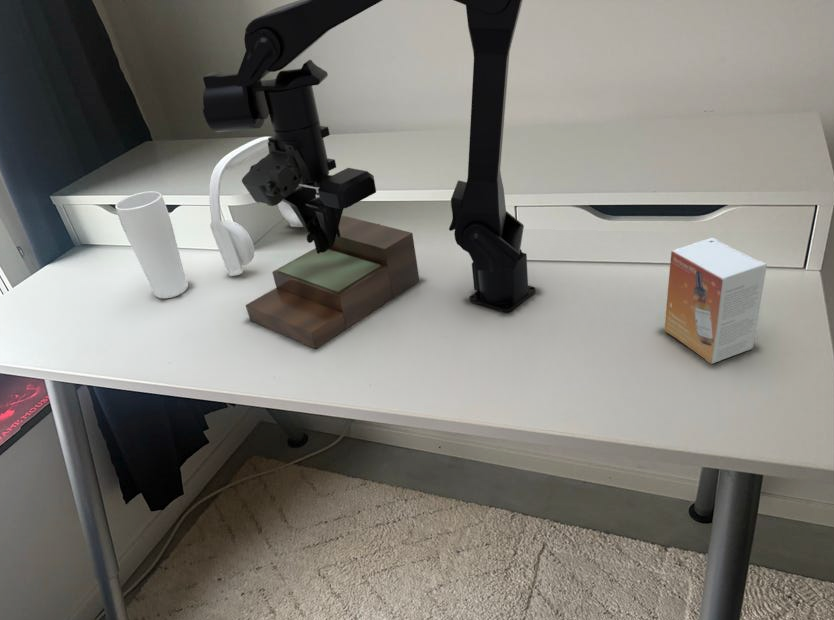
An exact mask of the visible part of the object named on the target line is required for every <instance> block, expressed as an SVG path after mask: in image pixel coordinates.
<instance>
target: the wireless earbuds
mask: <svg viewBox="0 0 834 620" xmlns="http://www.w3.org/2000/svg"><path fill="white" fill-rule="evenodd" d="M306 229H307V231H308V232H311V233H313V235H312V234H308V233H307V235H306V241H307V243H308V244H312V243H313V242H314V248H316V251H317V254H320V252H322V253H323V252H325V251H327V250H328V249H329V248H330V247H332V246H333V245H334V243H333V244H331V245H327V243H326V241H325V238H324V236H323V233H322V230H321V226H320V223H319V220H318V217H317V216H314V217H313V219H311V220H310V221H309V222H308V223H307V224H306ZM307 231H306V232H307ZM337 237H341V236H340V231H339V227H338V231H337ZM313 240H314V241H313Z"/></svg>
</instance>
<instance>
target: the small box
mask: <svg viewBox="0 0 834 620" xmlns="http://www.w3.org/2000/svg"><path fill="white" fill-rule="evenodd" d="M670 253H671V254H670V263H669V264H670V265H669V273H668V284H667V298H666V308H665V317H664V319H665V320H664V329H663V330H664V332H665V333H667V334H669V336H672V338H675V339H677V340H678V341H679V342H681V343H682V344H683V345H685V346H686V347H688V348H689V349H690V350H691V351H693V352H694V353H696V354H697V355H699V356H700V357H701V358H703V359H704V360H705V361H706V362H707V363H709V364H711V365H714V364H715V363H717V362H721V361H723V360H725V359H728V358H732V357H734V356H737V355H739V354H741V353H745V352H747V351H750V350H752V349H753V348H754V343H755V337H756V333H757V332H756V331H757V326H758V319H759V314H760V308H761V303H762V296H763V291H764V285H765V278H766V272H767V267H768V264H767V263H765V262H764V261H761V260H758V259H755V258H754V257H751V256H750V255H748V254H745V253H744V252H742V251H740V250H738V249H735V248H733V247H732V246H730V245H727V244H726V243H724V242H722V241H720V240H719V239H717V238H715V237H710V238H706V239H703V240H699V241H696V242H694V243H690V244H688V245H684V246H681V247H677V248H675V249H673V250H671V252H670Z"/></svg>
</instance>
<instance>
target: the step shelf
mask: <svg viewBox="0 0 834 620" xmlns="http://www.w3.org/2000/svg"><path fill="white" fill-rule="evenodd" d="M339 231H340V236H341V237H337V235H336V239H335V242H334V245H333V246H332V247H330V248H329V249H328V250H327V251H325V252H323V253H322V252H320V254H317V251H316V247H314V248H313V249H311V250H309V251H307V252H306V253H304V254H302V255H300V256H299V257H297V258H295V259H293V260H291V261H289V262H288V263H286V264H284V265H282V266H280V267H278V268H276V269H275V270H273V271H271V272H272V273H271V274H272V276H273V280H274V284H275V288H273V289H271V290H269V291H268V292H266V293H264V294H262V295H261V296H259V297H257V298H255V299H254V300H252V301H250V302H249V303H247V304H245V308H246V312H247V314H248V318H249V321H250V322H252V323H255V324H258V325H260V326H262V327H264V328H267V329H268V330H271V331H273V332H275V333H278V334H281V335H283V336H285V337H287V338H289V339H292V340H294V341H296V342H298V343H301V344H303V345H306V346H308V347H310V348H312V349H314V350H316V349H318V348H319V347H321V346H322V345H324V344H325V343H327V342H328V341H330V340H332V339H333V338H335V337H336V336H338V335H339V334H341V333H342V332H343V331H345V330H347V329H348V328H350V327H351V326H353V325H354V324H356V323H358V322H359V321H361V320H363V319H364V318H365V317H367V316H368V315H370V314H371V313H373V312H374V311H376V310H377V309H379V308H381V307H382V306H384V305H385V304H387V303H388V302H390V301H392V300H393V299H395V298H396V297H398V296H399V295H401V294H403V293H404V292H405V291H407V290H409V289H410V288H411V287H412V286H414V285H416V284H418V283H420V275H419V267H418V260H417V255H416V248H415V240H414V235H413V232H411V231H407V230H402V229H399V228H396V227H395V228H394V227H390V226H387V225H383V224H379V223H375V222H370V221H367V220H362V219H359V218H355V217H351V216H347V215H342V216H341V219H340V223H339Z"/></svg>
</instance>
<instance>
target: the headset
mask: <svg viewBox="0 0 834 620" xmlns="http://www.w3.org/2000/svg"><path fill="white" fill-rule="evenodd" d="M270 137H271V136H261V137H258V138H256V139H253V140H251V141H248V142H246V143H245V144H243V145H240V146H239V147H237V148H235V149H233V150H232V151H230V152H229V153H227V154H226V155H225V156H223V157H222V158H221V159H220V160H219V161H218V162H217V163H216V165H215V167H214V168H213V170H212V173H211V176H210V181H209V189H208V199H209V212H210V224H209V226H210V227H209V228H210V230H211V233H212V236H213V238H214V241H215V243H216V246H217V248H218V251H219V254H220V257H221V260H222V261H223V264H224V267H225V270H226V271H227V274H228V275H229V277H234V276H239V275H241V274H243V273H244V271H243V266H247V265H249V264H250V263H251V262H252V261H253V260H254V256H255V245H254V242H253V239H252V237H251V236H250V234H249V232H247V230H246V229H245V228H244V227H243V226H242V225H241V224H240V223H237V222H236V221H233V220H223V219H222V213H221V202H220V201H221V200H220V199H221V197H220V194H221V193H220V192H221V190H220V189H221V181H222V178H223V175H224V173H225V171H226V170H227V171H232V170H235V169H237V168H238V167H240V166H241V165H243V164H244V163H246V162H247V161H249V160H251V159H253V158H254V157H256V156H258V155H261V154H262V153H265V152H266V151H267V150H269V148H268V142H269V140H268V138H270ZM277 207H278V209H279V212H280V214H281V216H282V217H283V218H284V219H285V220H286V221H287V222H288V223H289V226H290V227H291V228H304V227H303V225H302V223H301V222H300V220H299V218H298V217H297V215H296V214H295V212H294V211H293V209H292V208H291V206H290V205H289V204H287V203H285V202H283V201H281V202H280V203H279V204H277Z"/></svg>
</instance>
